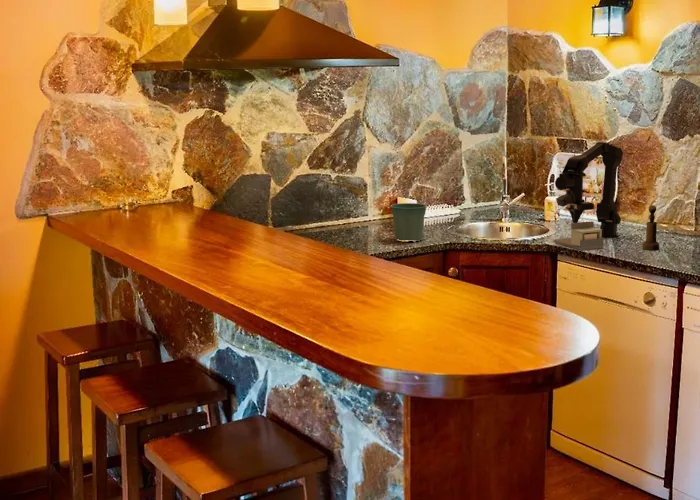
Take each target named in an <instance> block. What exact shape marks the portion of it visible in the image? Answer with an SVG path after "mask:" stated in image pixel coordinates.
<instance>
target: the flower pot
mask: <svg viewBox="0 0 700 500" xmlns="http://www.w3.org/2000/svg"><path fill="white" fill-rule="evenodd" d="M427 207H428V205H427V204H424V203H417V202H415V203H414V202H408V203H407V202H404V203H403V202H402V203H393V204H391V205H390V208H391V214H392V216H393V217H392V218H393V227H394V228H393V229H394V239H395V238H396V239H399V240H421V239H422V240H423V237H424V235H423V234H424V233H423V232H424V225H425V223H424V222H425V215H426V211H427Z"/></svg>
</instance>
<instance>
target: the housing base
mask: <svg viewBox="0 0 700 500" xmlns="http://www.w3.org/2000/svg"><path fill="white" fill-rule="evenodd" d="M604 239H605V237H601V238H599V239H589V240H580V246H577V245H574V244H571V237H566V238H565V237H564V238H555V239H553V243H554V242H555V243H554V244H557V243H558V245H561V246H564V247H567V248H570V249H573V250H578V251H586V250H587V251H589V250H598V249H603V248H604V242H605V241H604Z"/></svg>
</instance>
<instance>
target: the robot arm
mask: <svg viewBox="0 0 700 500" xmlns="http://www.w3.org/2000/svg"><path fill="white" fill-rule="evenodd" d="M599 156H601V161H602V164H603V166H604V177H603V186H602V194H601V195H602V196H601V201H599V202H598V203H597V204H596V209H595V204H594V203H593V202H591V201H586V200H585V199H584V198H583V195H584V193H586V190H585V189H584V177H586V176H587V174H586V173H585V172H584V171H585V170H586V169H587V168H588V167H589V164H590V163H591V162H592V161H594V160H595V159H596V158H598V157H599ZM623 157H624V152H623V149H622V148H621V147H620V146H619V147H617V146H616V145H612V144H610V143H609V142H606V141H597V142H596V143H595V144H594V145H593V146H591V147H590V148H588V149H587V150H585V151H584V152H583V153H581V154H579V155H574V156H572V157H570V158H568V159H567V161H566V164H565V166H564V168H563V170H562V171H561V173H559V174H558V176H557V178H556V179H555V181H554V185H555V188H556V189H557V190H559V191H564V190H566V191H565V194H562V195H559V196H558V197H556V198H555V201H556V204H557V206H560V207H562V208H563V207H564V208H565V209H566V210H567V211H568V212H569V214H570V218H571V220H572V223H579V220H580V218H581V216H582V215H583V212H584V211H590V210H594V209H595V214H596V219H597V220H596V221H597V223H600V226H599V229H602V236H601V238H608V239H609V238H616V237H617V238H618V237H619V234H618V233H617V232H618V225H619V224H621V221H622V220H621V219H622V217H621V216H620V215H619V213H618V212H617V211H618V209H617V208H618V207H617V204H616V202H615V194H616V193H615V191H616V184H617V183H616V180H617V171H618V167H619V165H620V164H621V163H622V160H623Z"/></svg>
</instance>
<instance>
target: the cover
mask: <svg viewBox="0 0 700 500" xmlns="http://www.w3.org/2000/svg"><path fill="white" fill-rule="evenodd" d="M594 224H595V222H594V221H592V220H591V221H582V222H577V223H573V222H571V224H570V228H571V229H570V238H571V244H574V245H577V246H580V240H582V238H583V233H591V232H593V233H597V239H599V238H602V229H600V228H599V227H594V226H595V225H594Z"/></svg>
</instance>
